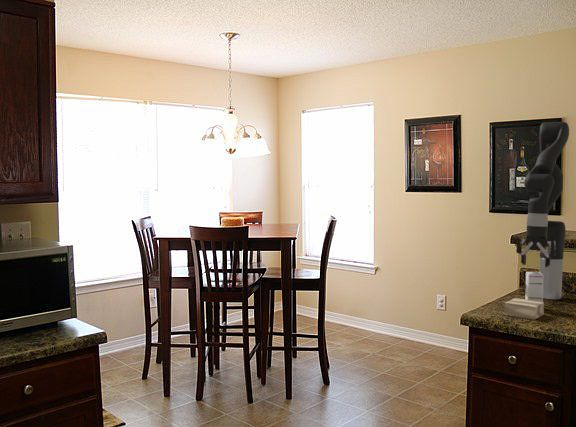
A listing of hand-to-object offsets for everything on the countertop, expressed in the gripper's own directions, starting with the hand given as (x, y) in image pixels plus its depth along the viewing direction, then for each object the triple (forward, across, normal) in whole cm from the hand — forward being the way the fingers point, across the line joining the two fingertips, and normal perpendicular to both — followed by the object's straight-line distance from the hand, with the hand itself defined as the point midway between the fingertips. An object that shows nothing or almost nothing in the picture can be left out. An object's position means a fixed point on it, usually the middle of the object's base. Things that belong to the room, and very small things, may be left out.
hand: (535, 265), depth 230 cm
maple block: (+18, 0, +12) cm, 21 cm away
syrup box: (+18, 0, 0) cm, 18 cm away
